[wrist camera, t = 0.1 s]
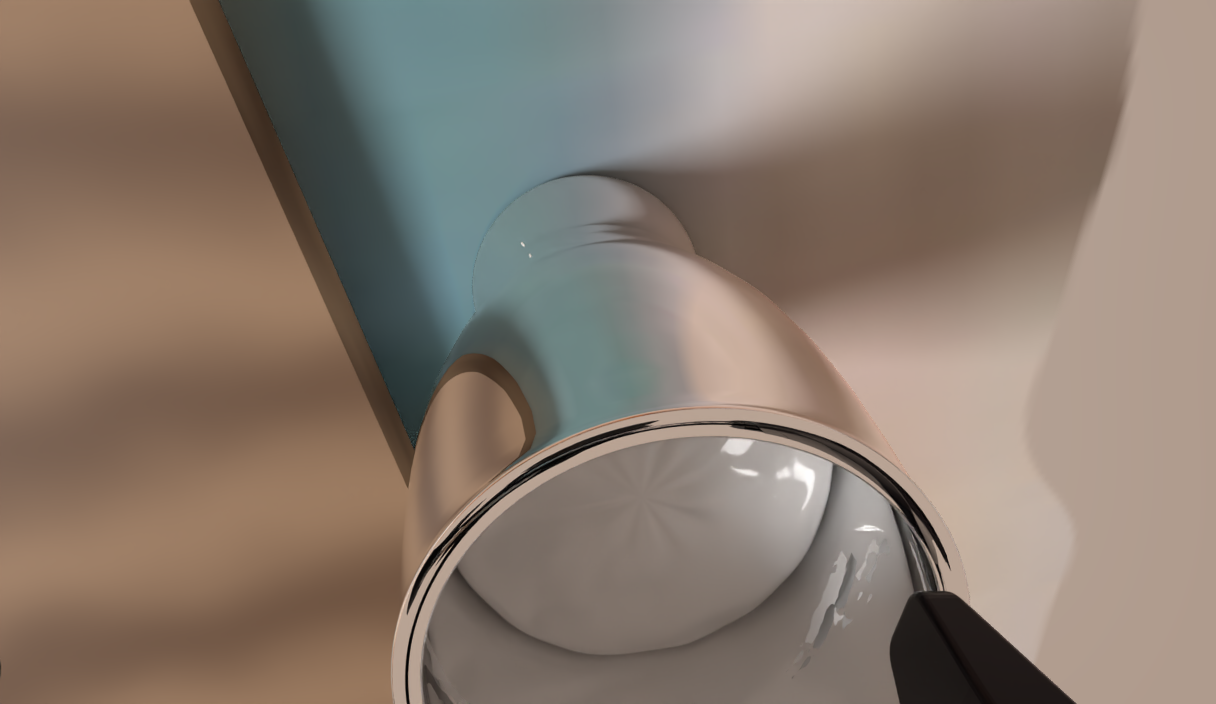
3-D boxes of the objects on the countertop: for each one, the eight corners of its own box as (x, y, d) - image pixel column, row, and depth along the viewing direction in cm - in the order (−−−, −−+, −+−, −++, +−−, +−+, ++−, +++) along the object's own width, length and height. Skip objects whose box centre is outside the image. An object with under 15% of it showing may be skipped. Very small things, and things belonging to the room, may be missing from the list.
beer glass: (729, 166, 23) (1064, 404, 9) (696, 409, 25) (918, 893, 11) (459, 145, 22) (367, 373, 8) (451, 399, 24) (370, 909, 11)
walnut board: (511, 673, 28) (510, 720, 26) (67, 811, 28) (36, 867, 26) (152, -151, 19) (113, -170, 17) (-493, 59, 19) (-600, 65, 17)
